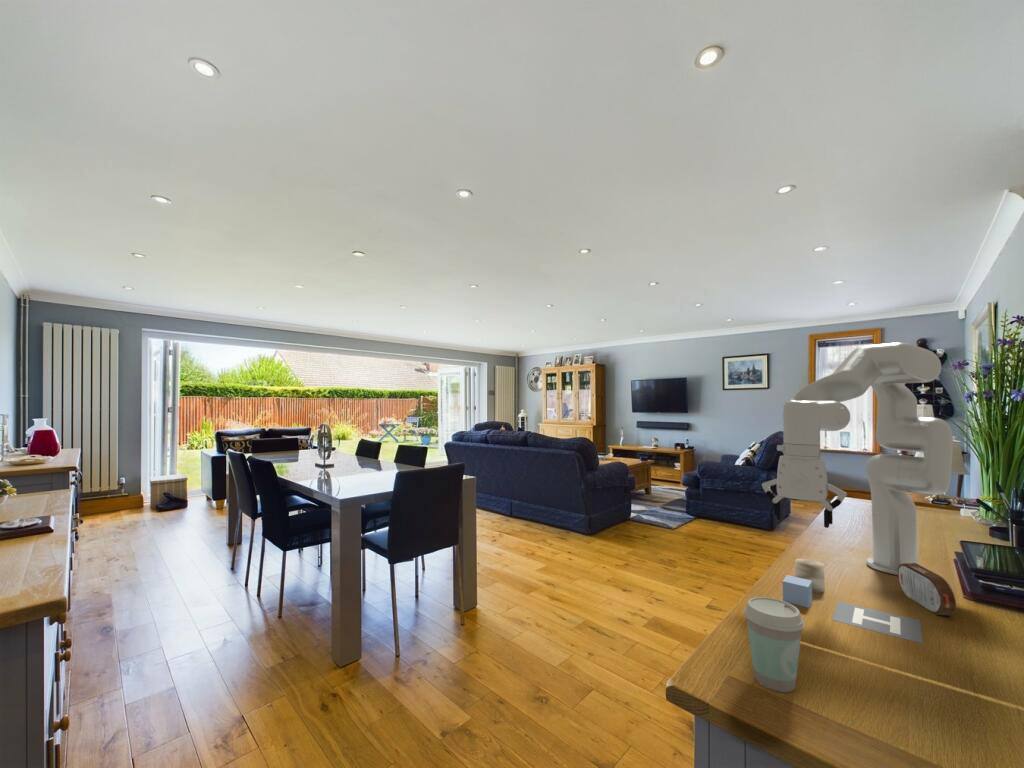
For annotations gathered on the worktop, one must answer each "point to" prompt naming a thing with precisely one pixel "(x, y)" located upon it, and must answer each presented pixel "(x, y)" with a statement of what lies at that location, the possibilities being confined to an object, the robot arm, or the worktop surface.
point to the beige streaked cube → (811, 573)
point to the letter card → (879, 621)
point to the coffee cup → (774, 641)
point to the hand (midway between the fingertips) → (802, 522)
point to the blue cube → (797, 591)
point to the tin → (926, 589)
